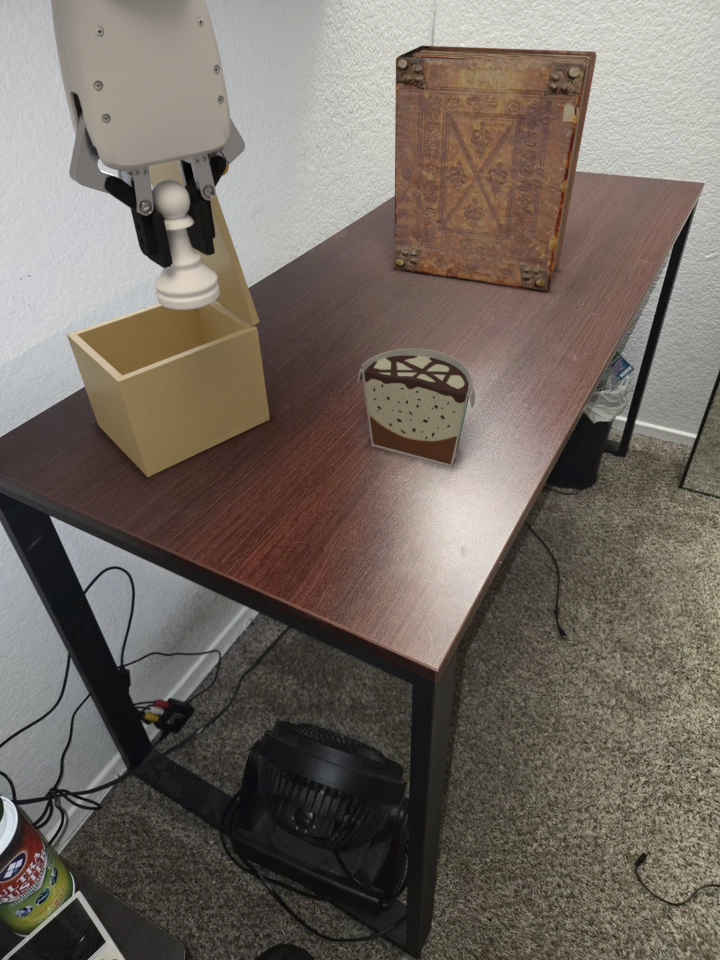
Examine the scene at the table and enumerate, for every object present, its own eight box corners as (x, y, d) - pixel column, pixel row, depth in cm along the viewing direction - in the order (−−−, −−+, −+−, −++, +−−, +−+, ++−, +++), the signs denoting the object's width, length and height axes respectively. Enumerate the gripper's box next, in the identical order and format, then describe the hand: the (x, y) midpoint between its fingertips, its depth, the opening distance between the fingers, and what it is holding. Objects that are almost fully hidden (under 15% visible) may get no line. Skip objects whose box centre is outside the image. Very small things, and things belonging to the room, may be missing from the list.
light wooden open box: (147, 477, 69) (118, 381, 62) (98, 425, 77) (66, 334, 69) (270, 419, 77) (257, 327, 69) (214, 377, 84) (197, 290, 76)
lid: (198, 167, 57) (243, 145, 58) (133, 141, 64) (174, 122, 66) (254, 325, 69) (289, 303, 70) (193, 288, 76) (227, 268, 78)
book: (559, 269, 107) (599, 51, 87) (548, 293, 100) (588, 63, 81) (412, 249, 115) (418, 45, 95) (393, 269, 108) (395, 55, 89)
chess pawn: (229, 302, 53) (211, 183, 47) (168, 316, 51) (142, 195, 45) (208, 280, 56) (189, 167, 50) (150, 293, 54) (123, 177, 48)
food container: (483, 438, 73) (492, 359, 66) (465, 471, 69) (474, 390, 62) (381, 413, 77) (381, 336, 71) (359, 442, 73) (356, 364, 66)
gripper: (211, -50, 46) (244, 220, 57) (-39, -41, 38) (60, 269, 50) (271, -49, 41) (294, 243, 53) (2, -38, 33) (100, 302, 45)
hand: (180, 253), depth 51 cm, fingers closed on chess pawn, 3 cm apart
